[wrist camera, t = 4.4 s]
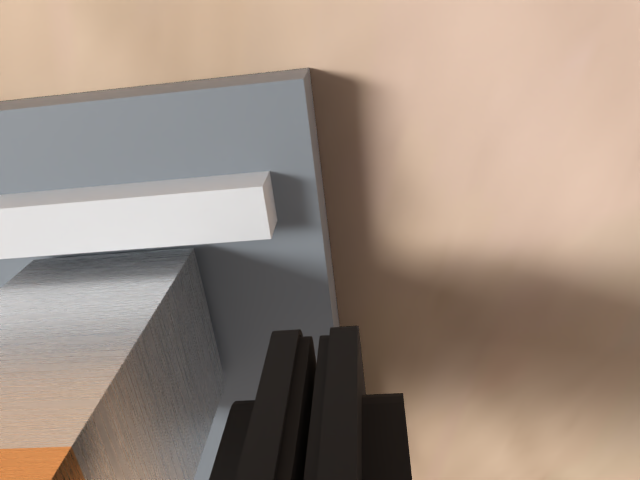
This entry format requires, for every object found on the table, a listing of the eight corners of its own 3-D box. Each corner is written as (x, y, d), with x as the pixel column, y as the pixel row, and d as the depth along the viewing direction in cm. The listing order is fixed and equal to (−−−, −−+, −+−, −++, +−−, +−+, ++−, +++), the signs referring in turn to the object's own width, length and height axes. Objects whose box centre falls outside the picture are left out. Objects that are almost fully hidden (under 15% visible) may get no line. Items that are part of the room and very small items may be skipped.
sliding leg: (33, 259, 13) (-235, 491, 7) (193, 247, 13) (48, 483, 7) (91, 411, 15) (-82, 690, 9) (231, 405, 15) (145, 694, 9)
